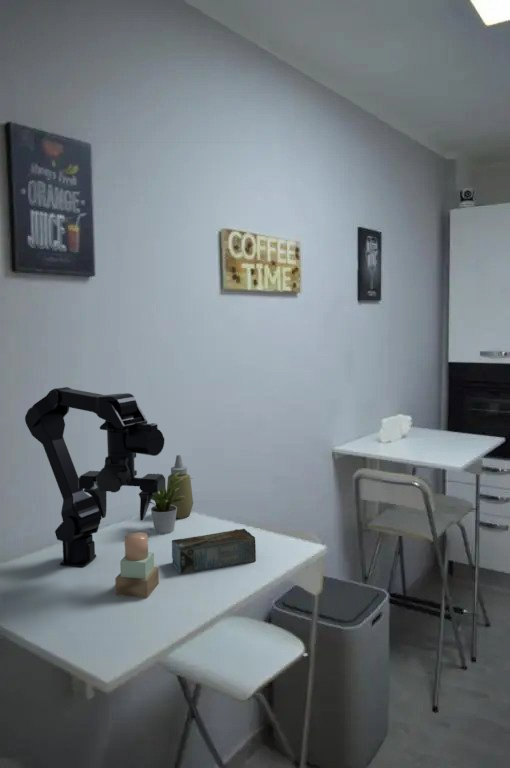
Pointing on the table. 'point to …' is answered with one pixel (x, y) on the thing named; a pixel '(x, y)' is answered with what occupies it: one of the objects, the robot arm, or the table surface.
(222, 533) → the beverage carton
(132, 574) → the top block
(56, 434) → the robot arm
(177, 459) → the squeeze bottle
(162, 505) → the house plant
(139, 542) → the pink domed cylinder
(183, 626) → the table surface
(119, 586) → the base block
